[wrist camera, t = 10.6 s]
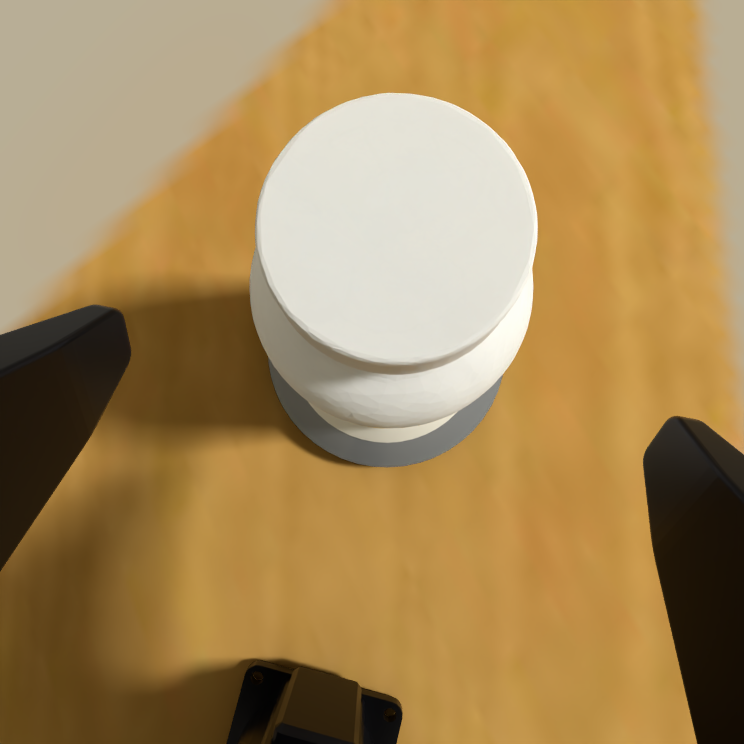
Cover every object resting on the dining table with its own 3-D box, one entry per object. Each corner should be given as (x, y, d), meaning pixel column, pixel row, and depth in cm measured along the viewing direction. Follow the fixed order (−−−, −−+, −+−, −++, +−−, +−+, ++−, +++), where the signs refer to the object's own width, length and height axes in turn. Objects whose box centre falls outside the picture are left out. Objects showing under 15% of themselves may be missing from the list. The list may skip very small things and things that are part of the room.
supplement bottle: (274, 330, 21) (113, 171, 8) (403, 243, 21) (438, -38, 9) (365, 462, 20) (342, 513, 8) (496, 369, 21) (686, 267, 8)
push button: (470, 491, 21) (475, 494, 20) (246, 432, 22) (239, 433, 21) (521, 270, 22) (528, 262, 21) (306, 218, 23) (302, 207, 22)
